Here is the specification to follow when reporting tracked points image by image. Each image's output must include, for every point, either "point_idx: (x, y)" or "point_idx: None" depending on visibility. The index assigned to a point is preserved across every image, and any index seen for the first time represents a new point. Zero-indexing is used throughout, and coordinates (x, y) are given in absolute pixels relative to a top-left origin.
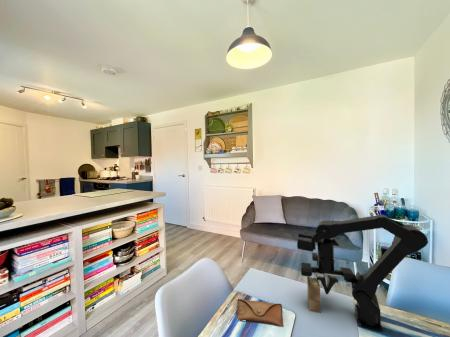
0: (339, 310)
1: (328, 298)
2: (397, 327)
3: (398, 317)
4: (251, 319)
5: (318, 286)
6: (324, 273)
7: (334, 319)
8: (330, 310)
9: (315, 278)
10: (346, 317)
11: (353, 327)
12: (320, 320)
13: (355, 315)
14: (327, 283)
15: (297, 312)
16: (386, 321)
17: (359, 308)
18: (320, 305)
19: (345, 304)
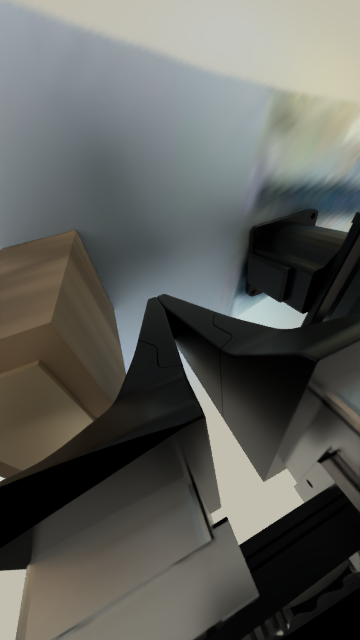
0: (190, 241)
1: (127, 131)
2: (345, 229)
3: None
4: None
5: None
6: (263, 625)
7: None
8: (151, 266)
9: (17, 348)
10: (211, 274)
11: (222, 310)
12: (122, 347)
13: (248, 260)
14: (203, 365)
15: None
16: (334, 213)
17: (290, 305)
18: (117, 332)
19: (226, 160)
